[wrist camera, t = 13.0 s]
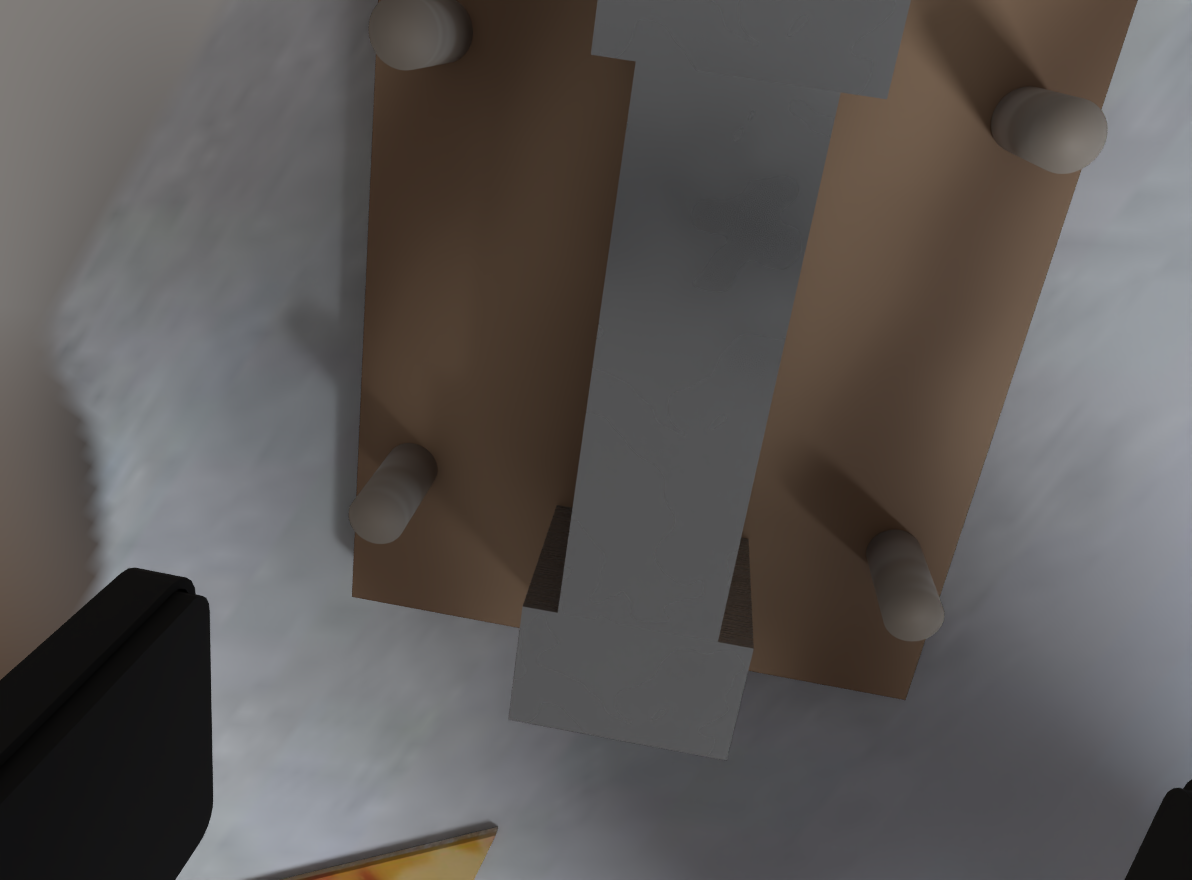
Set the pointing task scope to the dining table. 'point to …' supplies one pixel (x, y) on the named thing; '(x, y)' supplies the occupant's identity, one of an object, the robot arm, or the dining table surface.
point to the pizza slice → (417, 862)
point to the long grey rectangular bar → (688, 360)
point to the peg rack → (814, 337)
